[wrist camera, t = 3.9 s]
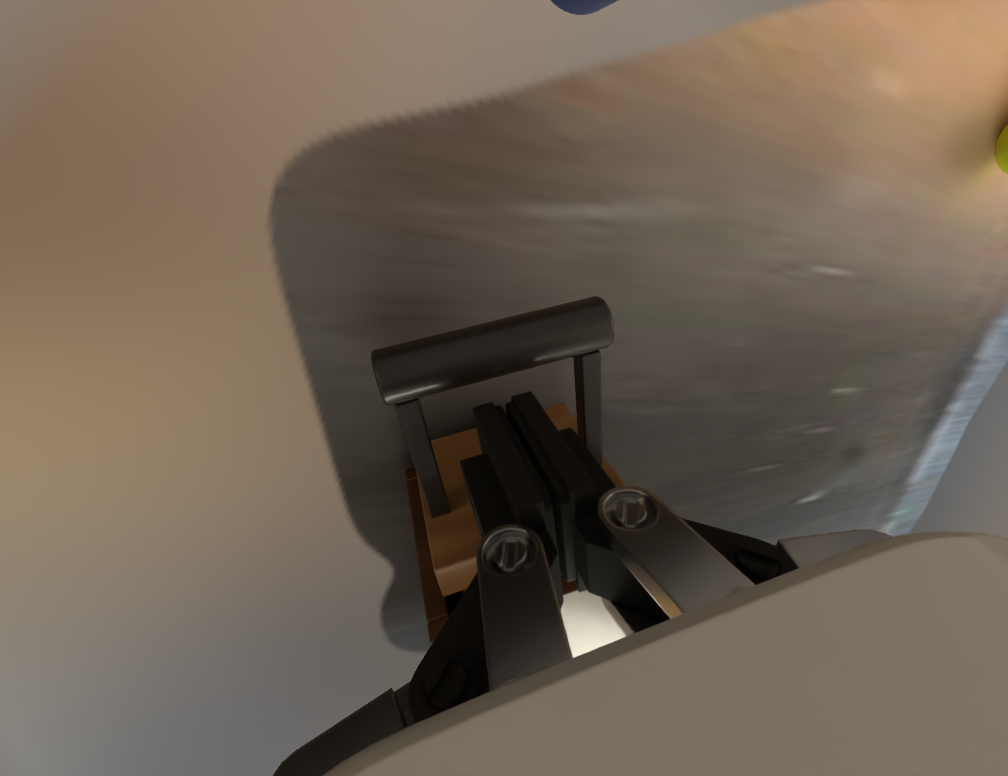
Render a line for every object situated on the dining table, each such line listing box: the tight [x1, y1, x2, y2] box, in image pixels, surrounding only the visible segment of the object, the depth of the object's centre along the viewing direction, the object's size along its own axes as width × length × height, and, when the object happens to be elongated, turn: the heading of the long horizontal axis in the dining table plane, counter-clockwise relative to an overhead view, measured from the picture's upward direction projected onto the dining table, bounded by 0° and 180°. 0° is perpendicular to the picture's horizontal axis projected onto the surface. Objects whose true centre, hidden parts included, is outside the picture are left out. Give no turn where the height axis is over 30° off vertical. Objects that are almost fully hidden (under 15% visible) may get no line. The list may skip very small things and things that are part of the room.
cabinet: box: [406, 469, 626, 658], centre depth 19 cm, size 13×7×7 cm, turn 8°
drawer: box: [371, 296, 626, 596], centre depth 16 cm, size 18×6×6 cm, turn 8°
